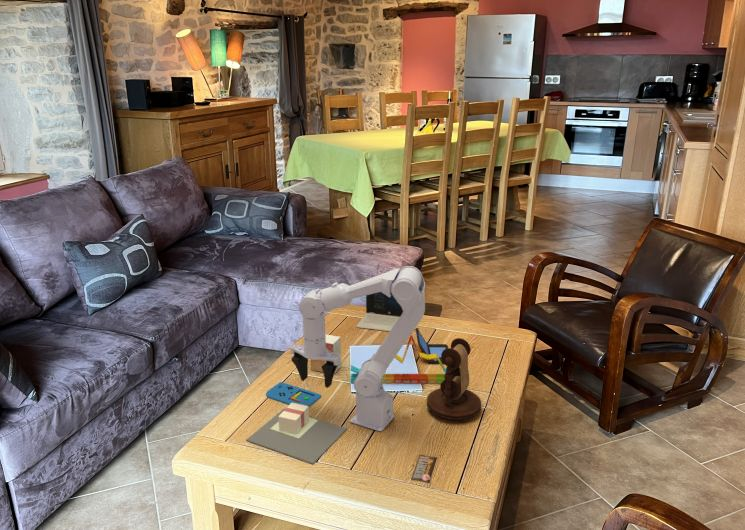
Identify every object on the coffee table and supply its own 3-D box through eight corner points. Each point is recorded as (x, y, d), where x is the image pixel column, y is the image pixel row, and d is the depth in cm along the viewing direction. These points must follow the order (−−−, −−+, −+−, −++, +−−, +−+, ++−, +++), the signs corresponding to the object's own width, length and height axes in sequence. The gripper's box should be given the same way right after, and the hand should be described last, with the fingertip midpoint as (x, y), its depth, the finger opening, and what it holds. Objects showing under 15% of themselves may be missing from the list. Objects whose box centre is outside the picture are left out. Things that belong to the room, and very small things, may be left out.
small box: (310, 370, 188) (309, 339, 184) (318, 362, 193) (317, 332, 189) (334, 375, 185) (333, 343, 181) (341, 366, 190) (341, 336, 186)
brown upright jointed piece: (469, 430, 158) (473, 361, 151) (417, 414, 164) (419, 348, 158) (488, 403, 170) (492, 338, 163) (439, 389, 177) (441, 327, 170)
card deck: (296, 434, 156) (296, 420, 154) (279, 429, 157) (278, 416, 156) (309, 419, 162) (308, 406, 160) (292, 415, 163) (291, 402, 162)
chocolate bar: (429, 487, 138) (430, 484, 138) (408, 483, 139) (408, 480, 139) (438, 457, 148) (438, 454, 148) (419, 454, 149) (419, 451, 149)
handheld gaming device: (280, 380, 180) (322, 393, 173) (280, 384, 181) (322, 397, 174) (262, 393, 174) (305, 407, 167) (262, 397, 174) (305, 411, 167)
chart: (350, 384, 180) (349, 338, 175) (351, 379, 183) (350, 333, 178) (453, 385, 180) (455, 339, 175) (452, 379, 183) (454, 334, 178)
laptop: (355, 328, 217) (355, 294, 212) (366, 314, 228) (366, 282, 224) (405, 334, 212) (405, 299, 207) (413, 320, 223) (413, 287, 219)
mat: (346, 429, 158) (346, 428, 158) (312, 464, 145) (312, 462, 145) (283, 409, 167) (283, 408, 167) (246, 441, 154) (246, 439, 154)
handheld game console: (451, 365, 191) (452, 343, 188) (417, 365, 191) (417, 343, 189) (447, 346, 203) (448, 326, 200) (415, 346, 203) (415, 326, 200)
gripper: (346, 335, 158) (347, 382, 162) (300, 325, 164) (302, 369, 169) (332, 347, 152) (333, 394, 157) (284, 335, 159) (287, 381, 163)
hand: (316, 382), depth 162 cm, fingers open, 7 cm apart
